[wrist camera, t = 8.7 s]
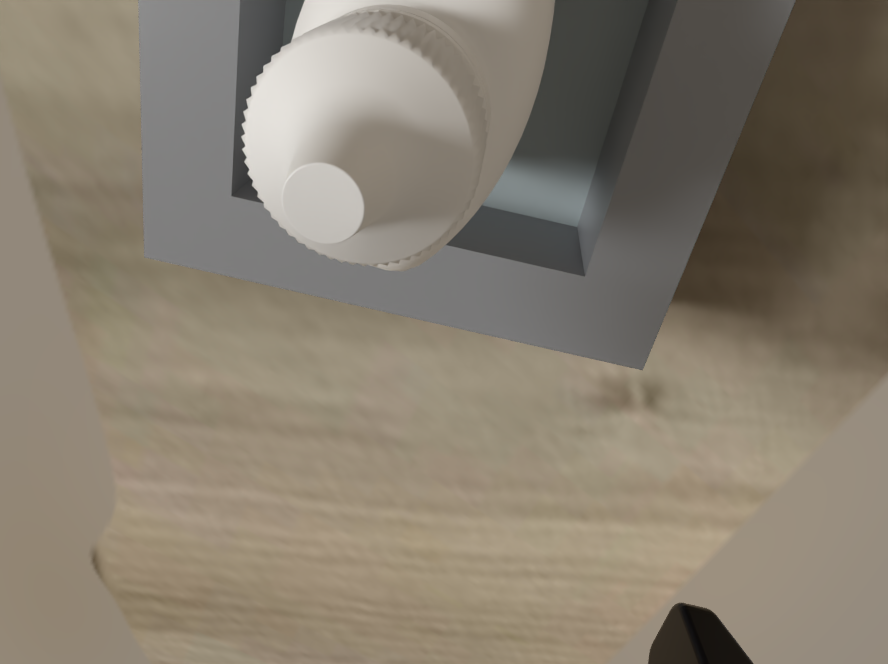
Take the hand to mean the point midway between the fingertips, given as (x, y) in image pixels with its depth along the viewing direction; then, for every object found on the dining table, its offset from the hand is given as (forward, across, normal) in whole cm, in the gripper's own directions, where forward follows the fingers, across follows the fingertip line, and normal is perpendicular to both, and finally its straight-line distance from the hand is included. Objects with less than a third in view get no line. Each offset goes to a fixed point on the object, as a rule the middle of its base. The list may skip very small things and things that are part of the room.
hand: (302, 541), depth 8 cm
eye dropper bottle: (+12, 0, -5) cm, 13 cm away
